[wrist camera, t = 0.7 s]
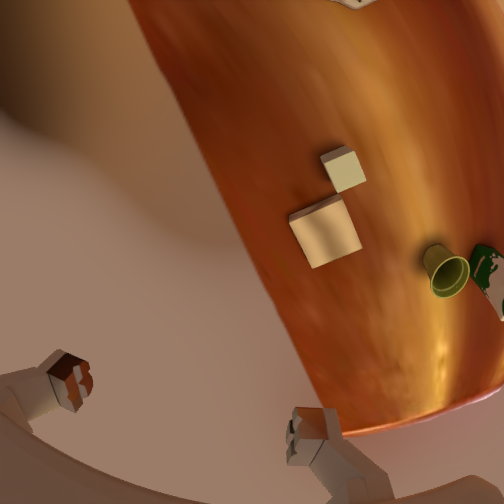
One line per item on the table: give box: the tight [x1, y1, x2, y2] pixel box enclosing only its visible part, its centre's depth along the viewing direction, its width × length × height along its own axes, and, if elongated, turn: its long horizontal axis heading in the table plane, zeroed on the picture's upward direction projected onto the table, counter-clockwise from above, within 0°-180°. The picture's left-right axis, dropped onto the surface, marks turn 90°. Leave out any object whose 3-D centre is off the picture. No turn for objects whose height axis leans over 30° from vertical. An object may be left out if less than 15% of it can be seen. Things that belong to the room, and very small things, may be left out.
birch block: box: [289, 194, 362, 269], centre depth 49 cm, size 10×10×4 cm
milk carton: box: [469, 244, 504, 321], centre depth 39 cm, size 9×9×20 cm
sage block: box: [320, 145, 366, 193], centre depth 42 cm, size 5×5×7 cm
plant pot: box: [423, 244, 470, 299], centre depth 46 cm, size 9×9×9 cm
